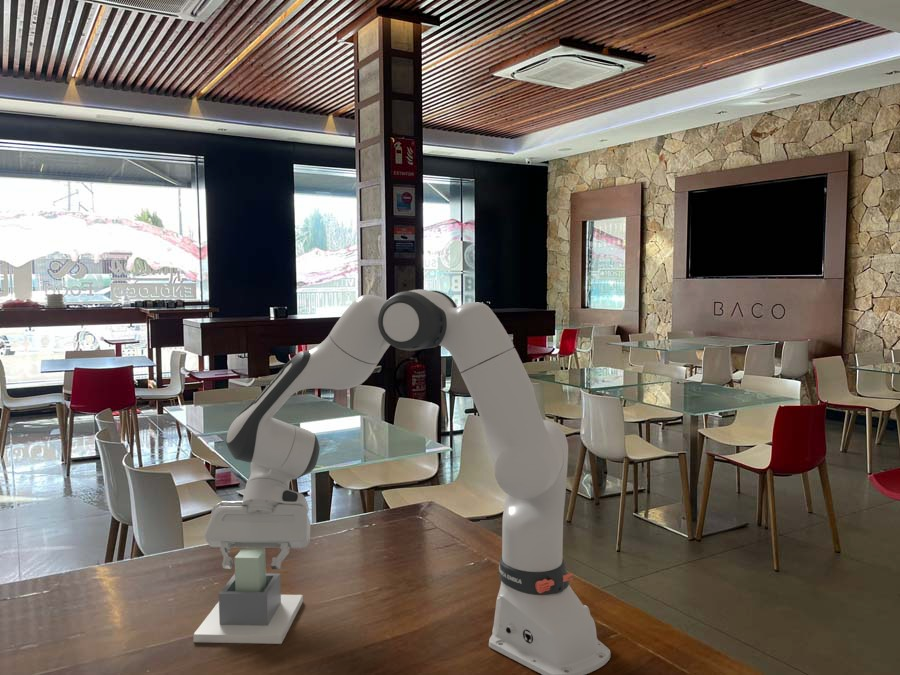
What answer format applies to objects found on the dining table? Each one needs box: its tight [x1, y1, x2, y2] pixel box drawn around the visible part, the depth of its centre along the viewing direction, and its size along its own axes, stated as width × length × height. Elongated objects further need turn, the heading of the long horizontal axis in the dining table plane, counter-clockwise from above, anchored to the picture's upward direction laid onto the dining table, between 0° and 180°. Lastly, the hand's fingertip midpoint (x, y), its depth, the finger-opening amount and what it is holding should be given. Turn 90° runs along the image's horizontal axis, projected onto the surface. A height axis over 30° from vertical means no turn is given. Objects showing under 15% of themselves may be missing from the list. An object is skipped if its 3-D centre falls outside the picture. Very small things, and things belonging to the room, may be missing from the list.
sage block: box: [234, 547, 267, 592], centre depth 132 cm, size 4×4×12 cm
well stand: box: [192, 572, 304, 645], centre depth 132 cm, size 16×16×8 cm
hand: (251, 567), depth 132 cm, fingers open, 8 cm apart
